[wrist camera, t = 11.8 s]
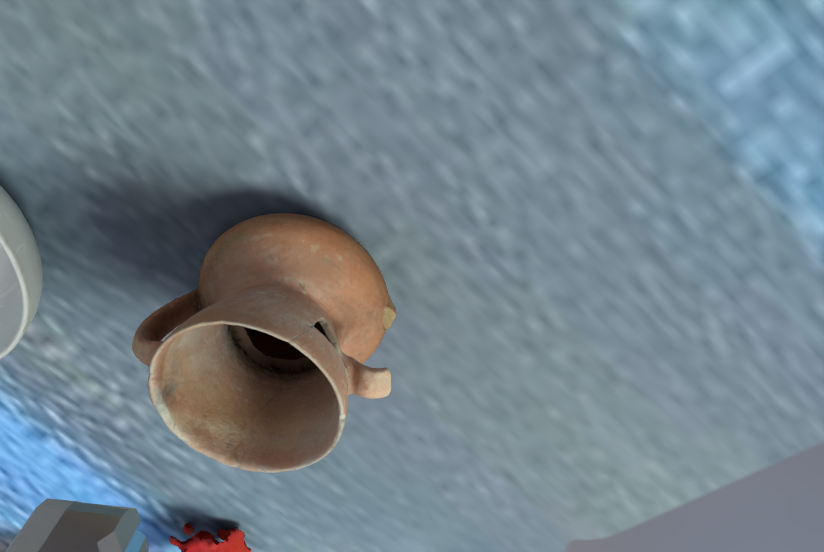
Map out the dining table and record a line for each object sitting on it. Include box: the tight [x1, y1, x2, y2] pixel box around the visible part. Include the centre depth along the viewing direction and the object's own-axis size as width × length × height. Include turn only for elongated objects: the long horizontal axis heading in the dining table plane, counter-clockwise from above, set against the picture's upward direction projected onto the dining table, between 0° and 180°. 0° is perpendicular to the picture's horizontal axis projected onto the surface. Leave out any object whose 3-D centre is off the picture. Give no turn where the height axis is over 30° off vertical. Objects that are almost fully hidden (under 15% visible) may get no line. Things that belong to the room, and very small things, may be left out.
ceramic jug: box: [132, 213, 396, 473], centre depth 44 cm, size 18×14×14 cm
